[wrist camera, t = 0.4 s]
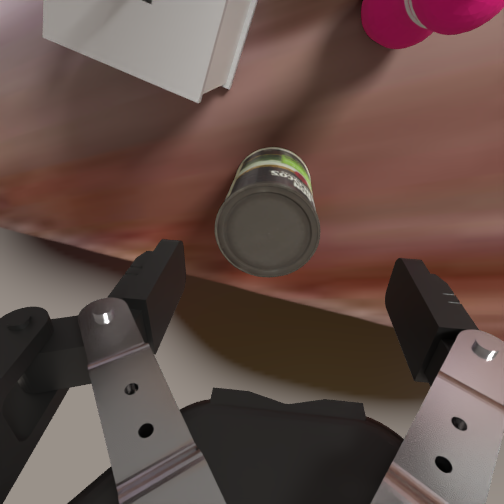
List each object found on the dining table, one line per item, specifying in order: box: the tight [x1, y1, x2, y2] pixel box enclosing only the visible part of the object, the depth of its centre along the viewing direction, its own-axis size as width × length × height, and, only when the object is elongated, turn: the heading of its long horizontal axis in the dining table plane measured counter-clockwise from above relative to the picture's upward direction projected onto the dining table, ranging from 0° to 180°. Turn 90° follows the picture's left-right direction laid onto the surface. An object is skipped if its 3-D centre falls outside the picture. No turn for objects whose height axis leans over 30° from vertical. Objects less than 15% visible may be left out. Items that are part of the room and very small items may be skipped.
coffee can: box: [215, 147, 320, 277], centre depth 38 cm, size 10×10×14 cm
